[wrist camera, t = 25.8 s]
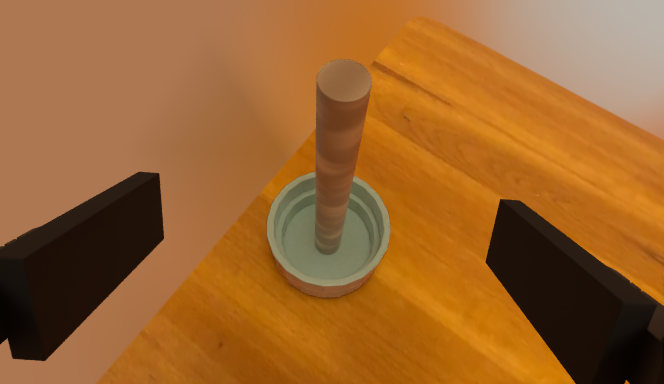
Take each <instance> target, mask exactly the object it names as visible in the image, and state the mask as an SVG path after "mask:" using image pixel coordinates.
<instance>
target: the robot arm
mask: <svg viewBox="0 0 664 384" xmlns="http://www.w3.org/2000/svg"><path fill="white" fill-rule="evenodd" d="M163 239H164V231H163V217H162V204H161V191H160V177H159V173H149V172H138V173H136V174H134V175H132V176H131V177H129V178H127V179H125V180H123V181H122V182H120V183H118V184H116V185H115V186H113V187H111V188H109V189H107V190H106V191H104V192H102V193H100V194H98V195H96V196H95V197H93V198H91V199H89V200H88V201H86V202H84V203H82V204H80V205H79V206H77V207H75V208H73V209H71V210H70V211H68V212H66V213H65V214H62V215H61V216H59V217H57V218H55V219H53V220H52V221H50V222H48V223H46V224H45V225H43V226H41V227H37V228H34V229H32V230H30V231H28V232H26V233H25V234H23V235H21V236H19V237H17V239H14V240H12V241H10V242H8V243H6V244H5V246H1V247H0V344H1V343H2V342H4V341H5V340H6V339H7V338H8V342H9V346H10V350H11V354H12V358H13V359H24V360H38V361H39V360H40V361H45V360H46V359H47V358H48V357H49V356H50V355H51V354H52V353H53V352H54V351H55V350H56V349H57V348H58V347H59V346H60V345H61V344H62V343H63V342H64V341H65V340H66V339H67V338H68V337H69V336H70V335H71V334H72V333H73V332H74V331H75V330H76V328H77V327H79V326H80V324H81V323H82V322H83V321H84V320H85V319H86V318H87V317H88V316H89V315H90V314H91V313H92V312H93V311H94V310H95V309H96V308H97V307H98V306H99V305H100V304H101V303H102V302H103V301H104V300H105V299H106V298H107V297H108V296H109V295H110V294H111V293H112V292H113V291H114V290H115V289H116V287H117V286H118V285H119V284H120V283H121V282H122V281H123V280H124V279H125V278H126V277H127V276H128V275H129V274H130V273H131V272H132V271H133V270H134V269H135V268H136V267H137V266H138V265H139V264H140V263H141V262H142V261H143V260H144V259H145V257H147V256H148V255H149V254H150V252H152V251H153V249H154V248H155V247H156V246H157V245H158V244H159V243H160V242H161V241H162V240H163ZM486 264H487V265H488V266H489V268H490V269H491V270H492V272H493V273H494V274H495V276H496V277H497V278H498V280H499V281H500V282H501V284H502V285H503V286H504V288H505V289H506V290H507V292H508V293H509V294H510V296H511V297H512V298H513V300H514V301H515V302H516V304H517V305H518V306H519V308H520V309H521V311H522V312H523V313H524V315H525V316H526V317H527V319H528V320H529V321H530V323H531V324H532V325H533V327H534V328H535V329H536V331H537V332H538V333H539V335H540V336H541V337H542V339H543V340H544V341H545V343H546V344H547V345H548V347H549V348H550V349H551V351H552V352H553V354H554V355H555V356H556V358H557V359H558V360H559V362H560V363H561V364H562V366H563V367H564V368H565V370H566V371H567V372H568V374H569V375H570V376H571V378H572V379H573V380H574V382H575V383H576V384H624V383H625V381H626V380H627V381H628V382H629V383H630V384H664V306H663V305H661V304H660V303H659V302H657V301H656V300H655V299H653V298H652V297H651V296H649V295H648V294H647V293H645V292H644V291H641V289H640V288H639V287H637V286H636V285H635V284H633V283H630V281H629V280H628V279H627V278H625V277H624V276H623V275H621V274H620V273H619V272H617V271H616V270H614V269H612V268H610V267H608V266H606V265H604V264H603V263H602V262H600V261H599V260H598V259H596V258H595V257H594V256H592V255H591V254H590V253H588V252H587V251H586V250H585V249H583V248H582V247H581V246H579V245H578V244H577V243H575V242H574V241H573V240H571V239H570V238H569V237H567V236H566V235H565V234H563V233H562V232H561V231H559V230H558V229H557V228H555V227H554V226H553V225H551V224H550V223H549V222H548V221H546V220H545V219H544V218H542V217H541V216H540V215H538V214H537V213H536V212H534V211H533V210H532V209H530V208H529V207H528V206H526V205H525V204H524V203H522V202H521V201H518V200H505V199H500V203H499V207H498V211H497V215H496V220H495V224H494V228H493V232H492V237H491V241H490V245H489V249H488V254H487V258H486Z"/></svg>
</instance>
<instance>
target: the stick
mask: <svg viewBox="0 0 664 384" xmlns="http://www.w3.org/2000/svg"><path fill="white" fill-rule="evenodd" d="M371 86H372V78H371V75H370V73H369V71H368V70H367V69H366V68H365V67H364V66H363V65H361V64H360V63H358V62H356V61H352V60H348V59H338V60H333V61H330V62H328V63H327V64H325V65H324V66H323V67H322V68H321V69H320V70H319V72H318V74H317V86H316V87H317V89H316V192H315V246H316V248H317V250H318V251H319V252H320V253H322V254H325V255H330V254H333V253H335V252H336V251H337V250H338V249H339V247H340V242H341V237H342V232H343V227H344V222H345V217H346V212H347V207H348V202H349V197H350V192H351V187H352V182H353V177H354V172H355V167H356V162H357V157H358V152H359V147H360V142H361V137H362V132H363V127H364V121H365V116H366V111H367V106H368V101H369V96H370V91H371Z"/></svg>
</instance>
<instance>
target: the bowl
mask: <svg viewBox="0 0 664 384" xmlns="http://www.w3.org/2000/svg"><path fill="white" fill-rule="evenodd" d="M315 192H316V171H315V172H312V173H309V174H306V175H303V176H300V177H298V178H296V179H295V180H294V181H292V182H291V183H289V184H288V185H286V186H285V187H284V188H283V189H282V191H281V192H280V193H279V195H278V196H277V197H276V198H275V200H274V201H273V203H272V206H271V209H270V212H269V215H268V218H267V238H268V241H269V244H270V247H271V250H272V253H273V256H274V259H275V262H276V265H277V267H278V270H279V271H280V272H281V274H282V275H283V276H284V278H285V279H286V280H287V281H288V283H290V284H291V285H292V286H294V287H295V288H297V289H298V290H300V291H302V292H303V293H305V294H309V295H313V296H317V297H321V298H328V297H340V296H343V295H345V294H348V293H350V292H353V291H355V290H357V289H358V288H360V287H361V286H362V285H363V284H364V283H365V282H366V281H368V280H369V279H370V278H371V276H372V274H373V272H374V271H375V269H376V267H377V266H378V264H379V262H380V260H381V259H382V257H383V255H384V253H385V252H386V250H387V247H388V242H389V237H390V230H391V229H390V222H389V215H388V211H387V209H386V207H385V205H384V203H383V201H382V199H381V197H380V196H379V195H378V194H377V193H376V192H375V191H374V190H373V189H372V188H371V187H370V186H369V185H368V184H367V183H366V182H364V181H362V180H361V179H359V178H357V177H355V176H354V177H353V182H352V187H351V192H350V197H349V202H348V207H347V212H346V217H345V222H344V227H343V232H342V237H341V242H340V247H339V249H338V250H337V251H336V252H335V253H333V254H330V255H325V254H322V253H320V252H319V251H318V250H317V248H316V246H315Z"/></svg>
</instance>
